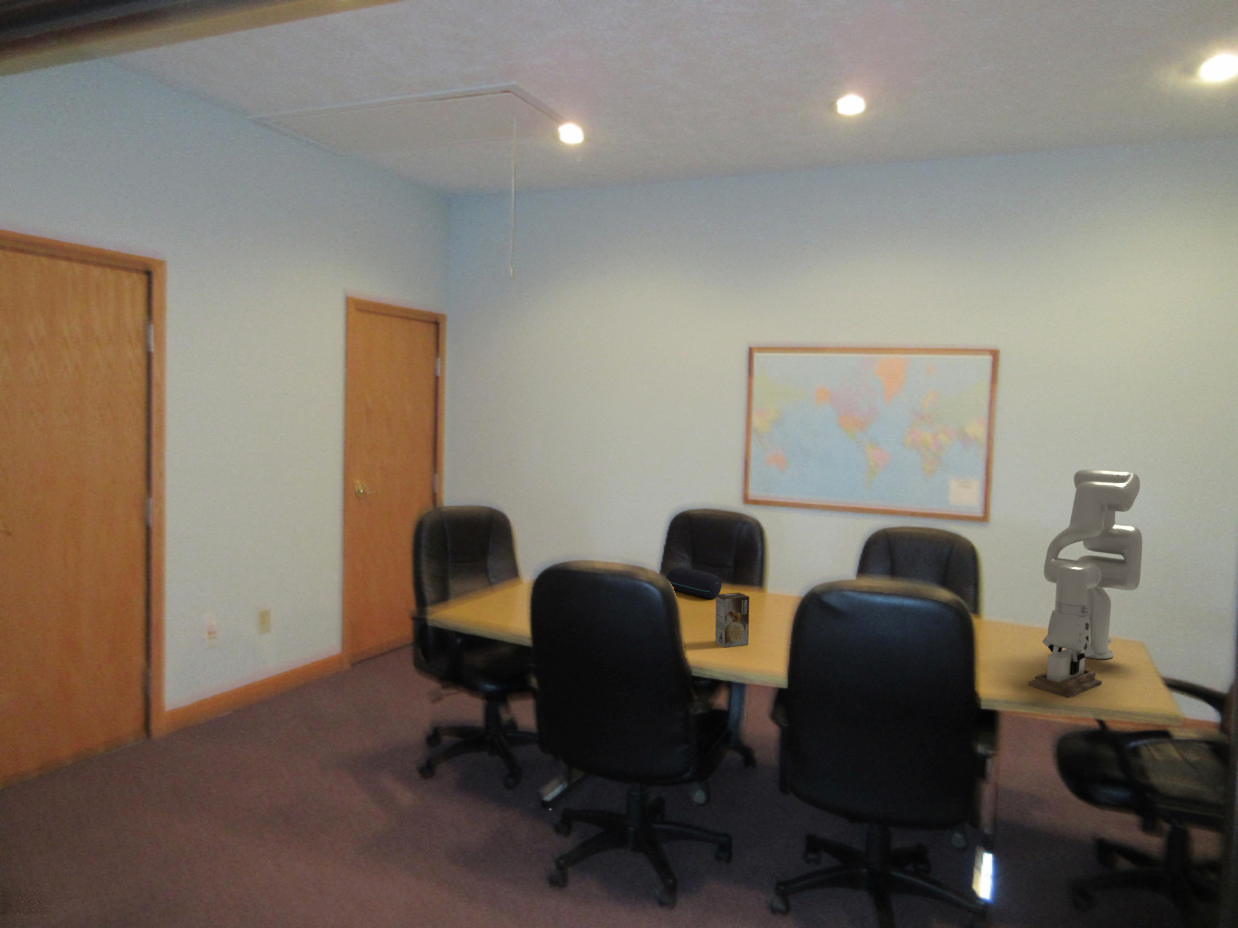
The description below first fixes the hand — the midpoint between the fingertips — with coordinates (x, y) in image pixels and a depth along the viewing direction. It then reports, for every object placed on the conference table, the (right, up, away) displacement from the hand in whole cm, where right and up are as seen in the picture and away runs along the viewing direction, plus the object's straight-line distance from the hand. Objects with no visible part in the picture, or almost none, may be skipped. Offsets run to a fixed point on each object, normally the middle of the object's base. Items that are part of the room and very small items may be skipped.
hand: (1065, 671), depth 222 cm
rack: (0, -4, 0) cm, 4 cm away
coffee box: (-91, 0, +32) cm, 96 cm away
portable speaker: (-96, +5, +97) cm, 137 cm away
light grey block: (0, -2, 0) cm, 2 cm away
